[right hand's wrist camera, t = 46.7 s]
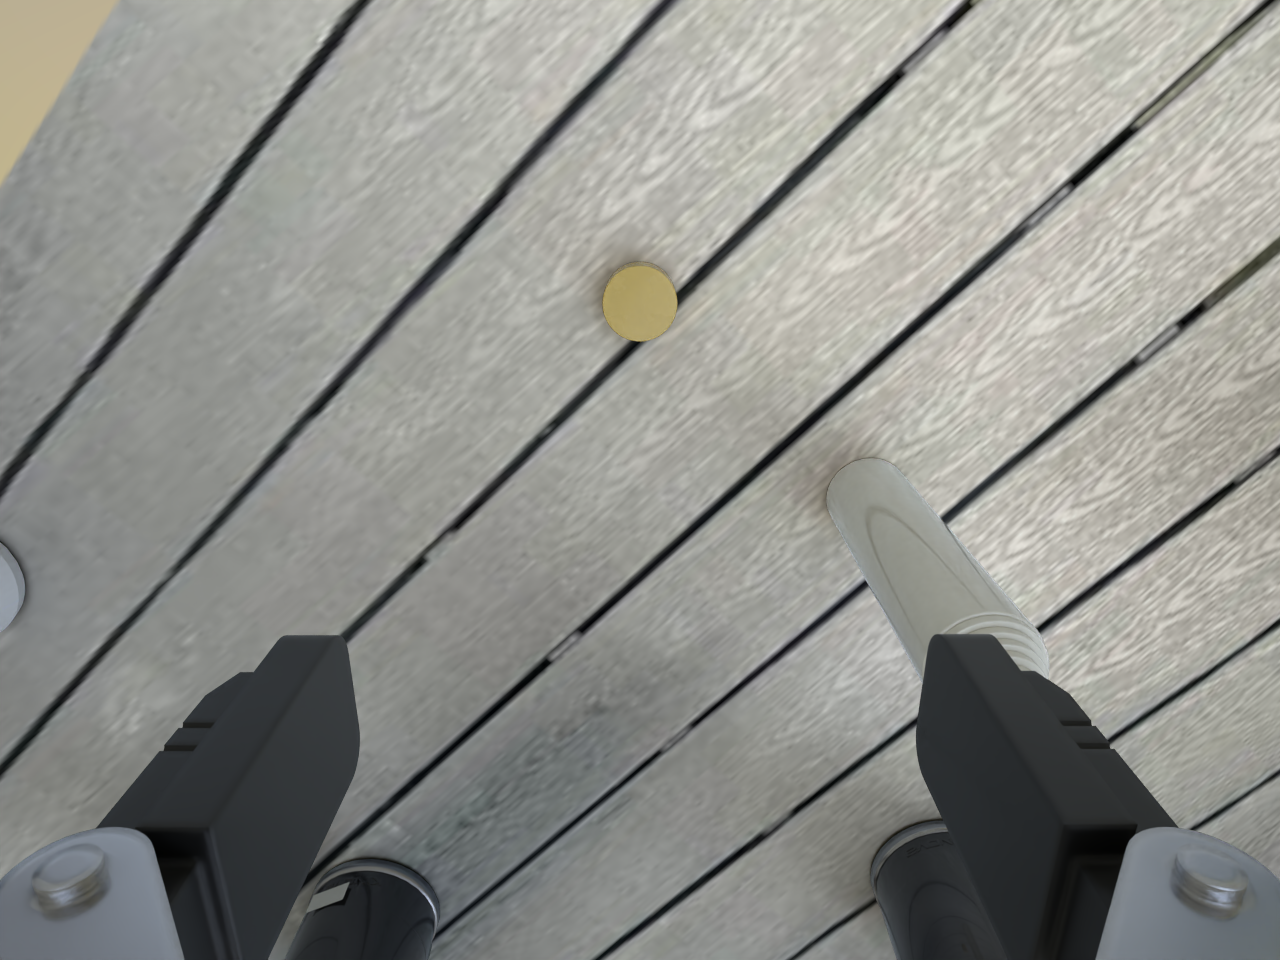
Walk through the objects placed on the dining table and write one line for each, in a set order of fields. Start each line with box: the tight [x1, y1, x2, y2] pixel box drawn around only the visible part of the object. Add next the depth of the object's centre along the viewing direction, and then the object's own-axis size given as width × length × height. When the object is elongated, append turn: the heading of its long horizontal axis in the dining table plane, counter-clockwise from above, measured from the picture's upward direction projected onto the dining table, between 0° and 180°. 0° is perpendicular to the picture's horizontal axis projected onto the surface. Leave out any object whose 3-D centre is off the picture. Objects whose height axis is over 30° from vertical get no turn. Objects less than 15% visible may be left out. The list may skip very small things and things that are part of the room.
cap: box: [603, 262, 677, 341], centre depth 45 cm, size 4×4×2 cm
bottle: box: [826, 458, 1049, 684], centre depth 39 cm, size 5×5×23 cm
